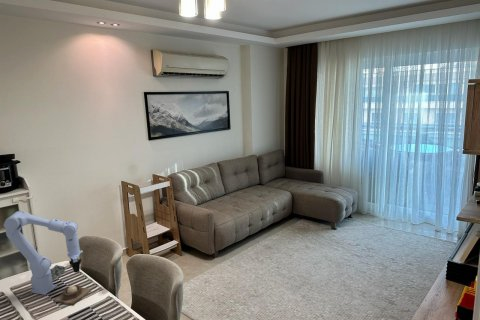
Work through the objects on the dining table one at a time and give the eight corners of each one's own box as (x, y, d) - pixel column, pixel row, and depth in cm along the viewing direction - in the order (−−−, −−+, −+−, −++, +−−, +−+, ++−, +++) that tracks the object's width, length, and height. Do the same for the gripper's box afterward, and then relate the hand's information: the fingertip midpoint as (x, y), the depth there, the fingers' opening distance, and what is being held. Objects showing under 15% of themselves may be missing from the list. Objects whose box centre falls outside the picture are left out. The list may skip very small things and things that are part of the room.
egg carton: (53, 281, 176) (51, 275, 175) (42, 279, 178) (41, 273, 177) (68, 271, 186) (67, 264, 185) (57, 269, 188) (56, 263, 187)
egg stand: (53, 301, 158) (52, 295, 157) (72, 287, 169) (71, 281, 168) (73, 305, 154) (72, 299, 154) (91, 291, 166) (90, 284, 165)
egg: (65, 296, 160) (64, 288, 159) (72, 290, 164) (71, 282, 163) (72, 298, 159) (71, 291, 158) (79, 292, 163) (78, 285, 162)
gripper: (82, 248, 163) (86, 272, 166) (80, 238, 175) (83, 260, 178) (67, 252, 159) (70, 276, 162) (65, 241, 172) (68, 264, 174)
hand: (76, 268), depth 170 cm, fingers open, 7 cm apart
